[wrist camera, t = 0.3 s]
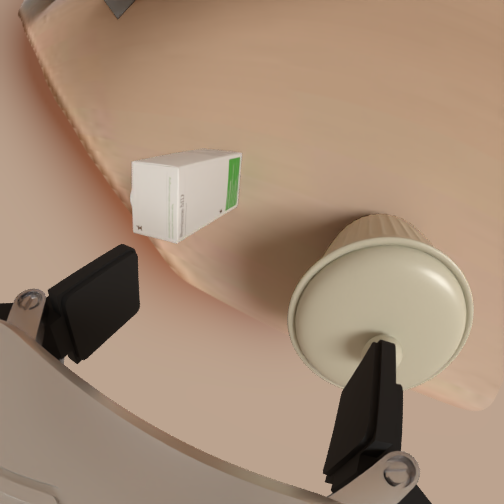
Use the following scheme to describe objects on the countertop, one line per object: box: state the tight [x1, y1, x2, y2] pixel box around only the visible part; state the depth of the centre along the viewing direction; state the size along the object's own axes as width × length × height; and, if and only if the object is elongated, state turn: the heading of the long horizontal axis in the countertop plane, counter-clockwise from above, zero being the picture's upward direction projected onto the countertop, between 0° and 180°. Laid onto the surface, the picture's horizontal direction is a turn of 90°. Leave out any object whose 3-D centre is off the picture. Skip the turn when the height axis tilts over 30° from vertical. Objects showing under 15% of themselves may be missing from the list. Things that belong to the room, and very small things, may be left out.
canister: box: [287, 214, 474, 391], centre depth 30 cm, size 18×18×21 cm
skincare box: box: [130, 149, 242, 244], centre depth 35 cm, size 8×7×16 cm
